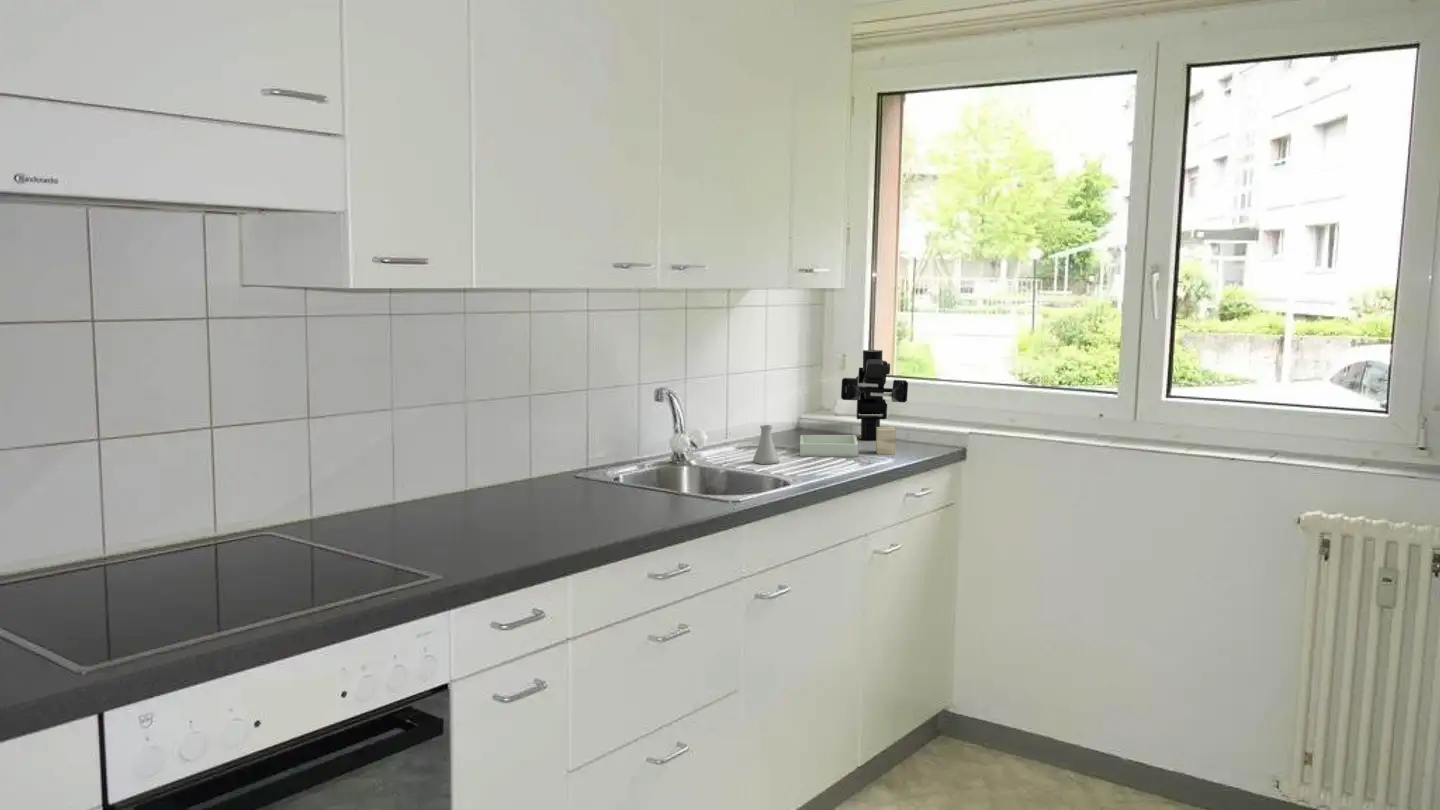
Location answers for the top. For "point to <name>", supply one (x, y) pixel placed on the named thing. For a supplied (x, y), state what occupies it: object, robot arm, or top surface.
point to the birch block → (885, 440)
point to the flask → (766, 448)
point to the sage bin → (828, 446)
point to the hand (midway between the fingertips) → (876, 394)
